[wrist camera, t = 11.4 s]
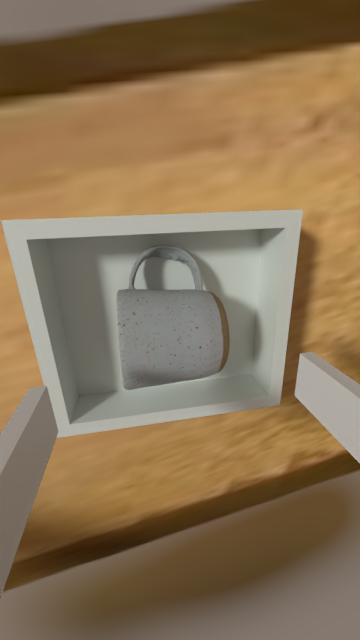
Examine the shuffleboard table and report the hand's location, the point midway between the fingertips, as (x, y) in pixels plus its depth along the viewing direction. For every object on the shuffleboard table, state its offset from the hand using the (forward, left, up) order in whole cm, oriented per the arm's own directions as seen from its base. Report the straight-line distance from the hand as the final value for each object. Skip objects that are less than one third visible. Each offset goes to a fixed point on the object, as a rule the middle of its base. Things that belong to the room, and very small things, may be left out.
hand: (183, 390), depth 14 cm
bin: (0, 0, -13) cm, 13 cm away
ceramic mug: (0, +1, -12) cm, 12 cm away
